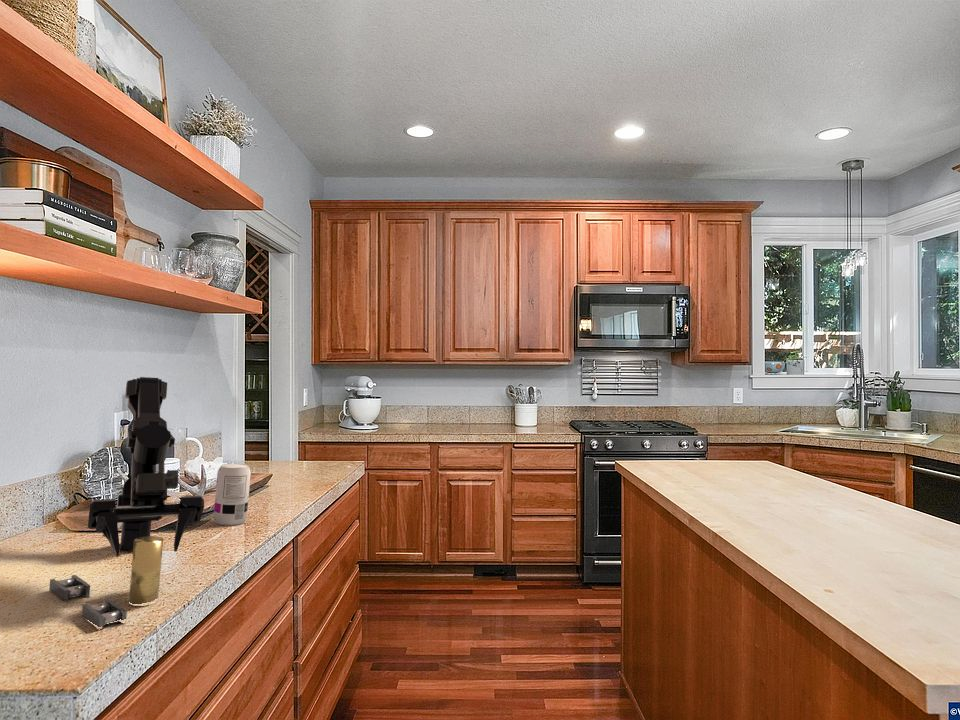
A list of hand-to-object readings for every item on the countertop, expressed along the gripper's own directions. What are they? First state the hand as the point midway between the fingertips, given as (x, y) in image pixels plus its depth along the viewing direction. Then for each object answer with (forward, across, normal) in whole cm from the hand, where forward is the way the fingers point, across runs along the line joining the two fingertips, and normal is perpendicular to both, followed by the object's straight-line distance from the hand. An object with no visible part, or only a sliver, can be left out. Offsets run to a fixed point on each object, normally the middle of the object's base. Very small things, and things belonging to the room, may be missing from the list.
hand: (147, 552), depth 109 cm
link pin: (+6, 0, +6) cm, 8 cm away
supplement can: (-28, +23, +40) cm, 54 cm away
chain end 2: (+11, -6, +1) cm, 12 cm away
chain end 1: (+1, -11, +11) cm, 16 cm away
